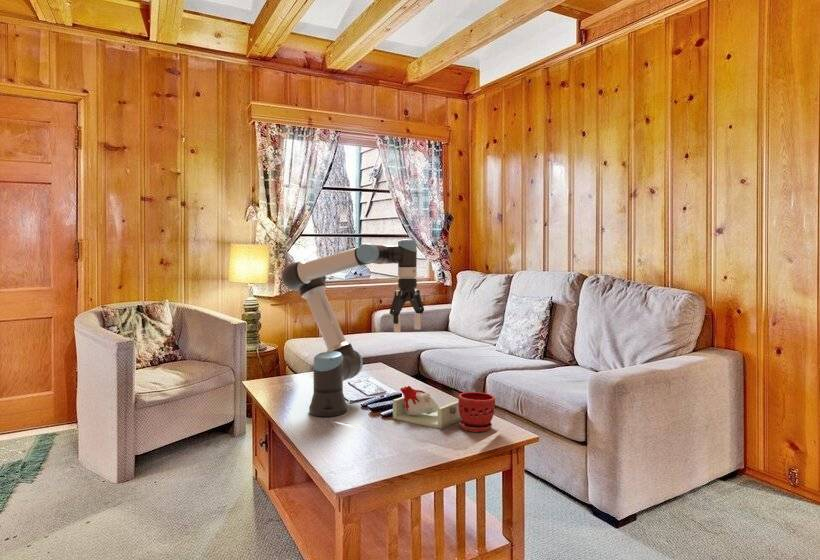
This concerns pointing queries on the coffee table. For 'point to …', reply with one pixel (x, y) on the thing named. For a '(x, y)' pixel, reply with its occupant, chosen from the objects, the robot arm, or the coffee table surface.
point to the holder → (428, 415)
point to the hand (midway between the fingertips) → (407, 330)
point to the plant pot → (476, 411)
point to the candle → (418, 402)
